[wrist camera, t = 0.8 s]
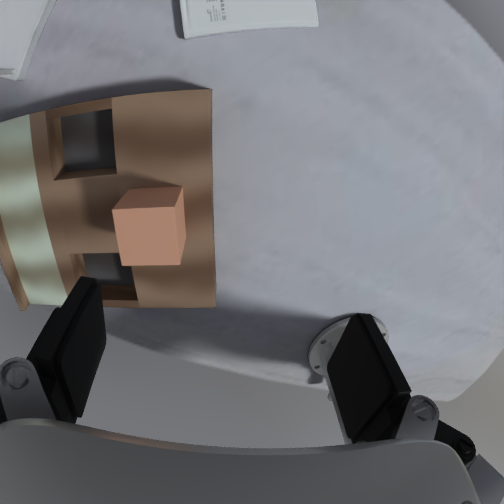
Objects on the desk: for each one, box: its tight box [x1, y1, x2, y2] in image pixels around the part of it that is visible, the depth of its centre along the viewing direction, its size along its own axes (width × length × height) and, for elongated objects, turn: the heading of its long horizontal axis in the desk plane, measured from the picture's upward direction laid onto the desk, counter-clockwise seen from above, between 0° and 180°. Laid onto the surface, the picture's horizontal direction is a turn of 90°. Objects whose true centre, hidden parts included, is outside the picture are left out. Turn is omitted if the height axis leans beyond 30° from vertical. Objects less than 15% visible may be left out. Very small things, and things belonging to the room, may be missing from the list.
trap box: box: [0, 89, 216, 311], centre depth 29 cm, size 22×25×6 cm
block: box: [112, 186, 186, 266], centre depth 26 cm, size 5×5×5 cm
